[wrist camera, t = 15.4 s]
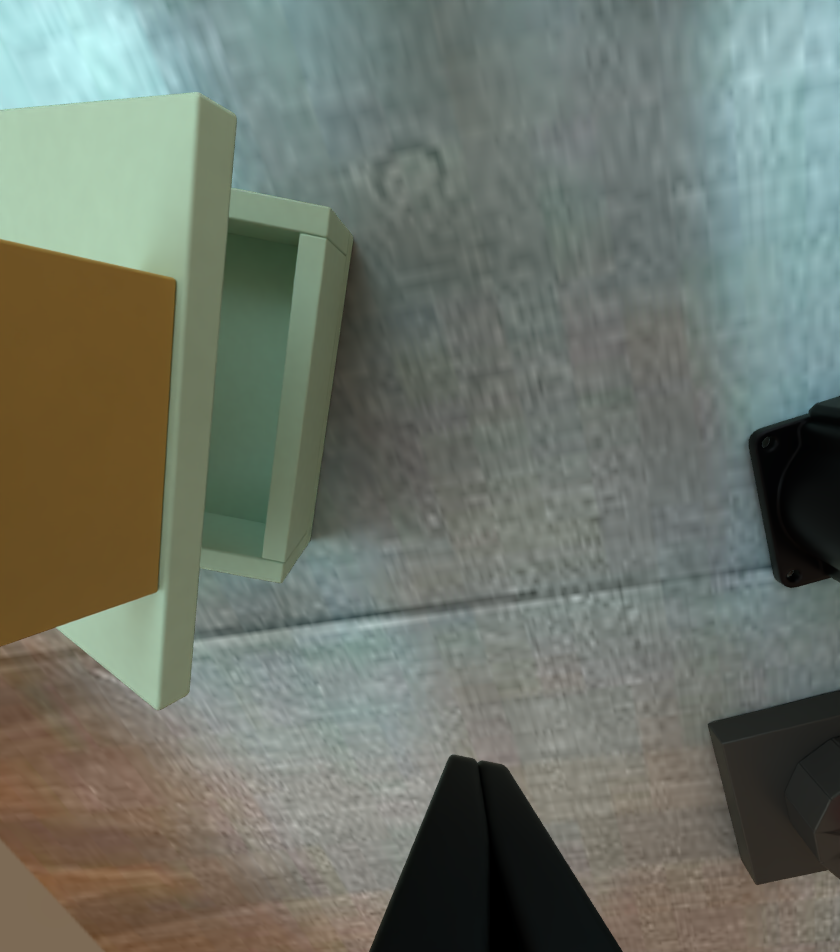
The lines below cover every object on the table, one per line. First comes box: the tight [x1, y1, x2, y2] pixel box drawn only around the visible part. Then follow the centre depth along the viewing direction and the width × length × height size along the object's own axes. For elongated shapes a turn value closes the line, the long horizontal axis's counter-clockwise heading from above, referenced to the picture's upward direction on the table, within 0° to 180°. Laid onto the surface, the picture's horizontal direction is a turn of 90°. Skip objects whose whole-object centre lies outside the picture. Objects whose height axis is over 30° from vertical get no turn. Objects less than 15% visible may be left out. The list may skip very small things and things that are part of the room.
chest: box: [200, 188, 353, 583], centre depth 17 cm, size 11×12×4 cm
